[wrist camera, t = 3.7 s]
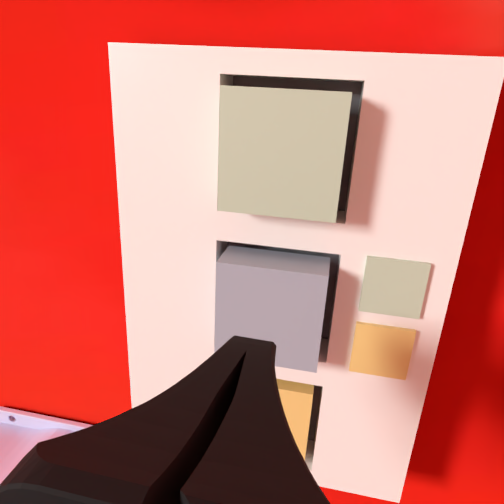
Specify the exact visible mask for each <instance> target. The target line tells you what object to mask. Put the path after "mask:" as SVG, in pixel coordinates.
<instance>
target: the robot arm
mask: <svg viewBox="0 0 504 504" xmlns="http://www.w3.org/2000/svg"><path fill="white" fill-rule="evenodd" d="M275 356H276V345H275V343H274V342H271V341H265V340H259V339H253V338H247V337H241V336H235V335H234V336H233V337H231V338H230V339H229V340H228V341H227V342H226V343H225V344H224V345H223V346H222V347H220V348H219V349H218V350H217V351H216V352H215V353H214V354H213V355H211V356H210V357H209V358H208V359H207V360H206V361H204V362H203V363H202V364H201V365H200V366H198V367H197V368H196V369H195V370H193V371H192V372H191V373H189V374H188V375H187V376H185V377H184V378H183V379H181V380H180V381H178V382H177V383H176V384H174V385H173V386H171V387H170V388H168V389H167V390H165V391H164V392H162V393H161V394H159V395H157V396H155V397H154V398H152V399H150V400H148V401H147V402H145V403H143V404H141V405H139V406H136V407H134V408H132V409H130V410H128V411H126V412H124V413H122V414H120V415H118V416H116V417H113V418H111V419H108V420H106V421H103V422H101V423H98V424H96V425H90V424H85V423H80V422H75V421H70V420H65V419H61V418H56V417H51V416H46V415H41V414H36V413H31V412H26V411H21V410H16V409H11V408H7V407H1V406H0V504H330V502H329V501H328V500H327V498H326V496H325V495H324V493H323V492H322V490H321V489H320V487H319V486H318V484H317V482H316V481H315V479H314V477H313V475H312V474H311V472H310V470H309V468H308V466H307V464H306V462H305V460H304V458H303V456H302V454H301V452H300V450H299V448H298V446H297V444H296V442H295V440H294V437H293V435H292V432H291V430H290V427H289V424H288V422H287V419H286V416H285V413H284V409H283V406H282V402H281V398H280V394H279V390H278V385H277V379H276V373H275Z"/></svg>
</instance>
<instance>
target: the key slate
mask: <svg viewBox="0 0 504 504" xmlns="http://www.w3.org/2000/svg"><path fill="white" fill-rule="evenodd" d="M329 268H330V257H322V256H314V255H305V254H297V253H288V252H280V251H272V250H263V249H255V248H246V247H238V246H228V247H227V249H226V250H225V251H224V253H223V254H222V255H221V257H220V258H219V259H218V261H217V262H216V298H215V344H214V353H215V352H216V351H217V350H218V349H219V348H220V347H222V346H223V345H224V344H225V343H226V342H227V341H228V340H229V339H230V338H231V337H233V336H234V335H235V336H241V337H247V338H253V339H259V340H265V341H271V342H274V343H275V345H276V356H275V366H277V367H283V368H289V369H295V370H302V371H308V372H314V373H317V365H318V357H319V350H320V342H321V334H322V326H323V318H324V310H325V303H326V295H327V287H328V279H329Z"/></svg>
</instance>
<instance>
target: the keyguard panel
mask: <svg viewBox="0 0 504 504" xmlns="http://www.w3.org/2000/svg"><path fill="white" fill-rule="evenodd" d="M108 50H109V66H110V81H111V96H112V111H113V127H114V142H115V157H116V173H117V188H118V203H119V218H120V234H121V249H122V264H123V280H124V295H125V310H126V325H127V341H128V356H129V371H130V387H131V402H132V408H134V407H136V406H139V405H141V404H143V403H145V402H147V401H148V400H150V399H152V398H154V397H155V396H157V395H159V394H161V393H162V392H164V391H165V390H167V389H168V388H170V387H171V386H173V385H174V384H176V383H177V382H178V381H180V380H181V379H183V378H184V377H185V376H187V375H188V374H189V373H191V372H192V371H193V370H195V369H196V368H197V367H198V366H200V365H201V364H202V363H203V362H204V361H206V360H207V359H208V358H209V357H210V356H211V355H213V354H214V344H215V298H216V262H217V261H218V259H219V258H220V257H221V255H222V254H223V253H224V251H225V250H226V249H227V247H228V246H238V247H246V248H255V249H263V250H272V251H280V252H288V253H297V254H305V255H314V256H322V257H330V268H329V279H328V287H327V295H326V303H325V310H324V318H323V326H322V334H321V342H320V350H319V357H318V365H317V373H314V372H308V371H302V370H295V369H289V368H283V367H277V366H275V373H276V379H281V380H287V381H293V382H299V383H305V384H311V385H314V392H313V400H312V408H311V416H310V424H309V432H308V440H307V447H306V455H305V462H306V464H307V466H308V468H309V470H310V472H311V474H312V475H313V477H314V479H315V481H316V482H317V484H318V486H321V487H326V488H331V489H335V490H340V491H345V492H350V493H354V494H359V495H364V496H369V497H373V498H378V499H383V500H388V501H393V502H397V503H399V502H400V498H401V494H402V490H403V486H404V481H405V477H406V473H407V469H408V465H409V461H410V457H411V453H412V449H413V445H414V441H415V437H416V433H417V429H418V425H419V421H420V416H421V412H422V408H423V404H424V400H425V396H426V392H427V388H428V384H429V380H430V376H431V372H432V368H433V364H434V360H435V356H436V351H437V347H438V343H439V339H440V335H441V331H442V327H443V323H444V319H445V315H446V311H447V307H448V303H449V299H450V295H451V291H452V286H453V282H454V278H455V274H456V270H457V266H458V262H459V258H460V254H461V250H462V246H463V242H464V238H465V234H466V230H467V226H468V221H469V217H470V213H471V209H472V205H473V201H474V197H475V193H476V189H477V185H478V181H479V177H480V173H481V169H482V165H483V161H484V156H485V152H486V148H487V144H488V140H489V136H490V132H491V128H492V124H493V120H494V116H495V112H496V108H497V104H498V100H499V96H500V91H501V87H502V83H503V79H504V57H488V56H461V55H434V54H408V53H381V52H354V51H327V50H300V49H273V48H246V47H219V46H192V45H166V44H139V43H112V42H108ZM220 85H227V86H246V87H265V88H284V89H303V90H322V91H340V92H352V99H351V107H350V115H349V122H348V130H347V138H346V146H345V154H344V162H343V169H342V177H341V185H340V193H339V201H338V209H337V216H336V223H330V222H321V221H311V220H302V219H292V218H283V217H273V216H264V215H254V214H245V213H235V212H225V211H217V206H218V160H219V113H220Z"/></svg>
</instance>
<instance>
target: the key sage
mask: <svg viewBox="0 0 504 504" xmlns="http://www.w3.org/2000/svg"><path fill="white" fill-rule="evenodd" d="M351 99H352V92H340V91H322V90H303V89H284V88H265V87H246V86H227V85H220V113H219V160H218V206H217V211H225V212H235V213H245V214H254V215H264V216H273V217H283V218H292V219H302V220H311V221H321V222H330V223H336V216H337V209H338V201H339V193H340V185H341V177H342V169H343V162H344V154H345V146H346V138H347V130H348V122H349V115H350V107H351Z"/></svg>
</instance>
